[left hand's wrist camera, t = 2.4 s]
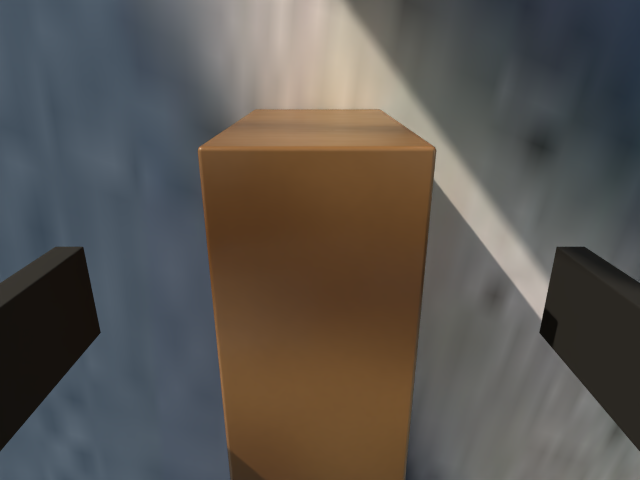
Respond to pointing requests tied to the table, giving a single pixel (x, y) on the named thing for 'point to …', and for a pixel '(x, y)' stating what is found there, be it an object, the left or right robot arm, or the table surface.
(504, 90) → the table surface
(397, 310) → the bar
